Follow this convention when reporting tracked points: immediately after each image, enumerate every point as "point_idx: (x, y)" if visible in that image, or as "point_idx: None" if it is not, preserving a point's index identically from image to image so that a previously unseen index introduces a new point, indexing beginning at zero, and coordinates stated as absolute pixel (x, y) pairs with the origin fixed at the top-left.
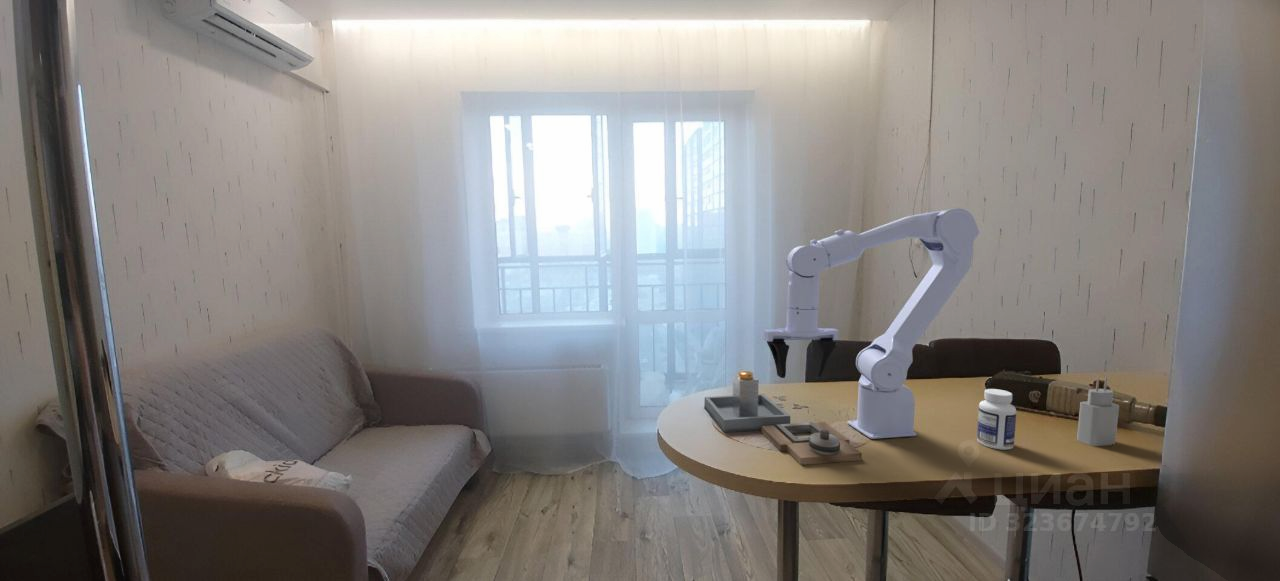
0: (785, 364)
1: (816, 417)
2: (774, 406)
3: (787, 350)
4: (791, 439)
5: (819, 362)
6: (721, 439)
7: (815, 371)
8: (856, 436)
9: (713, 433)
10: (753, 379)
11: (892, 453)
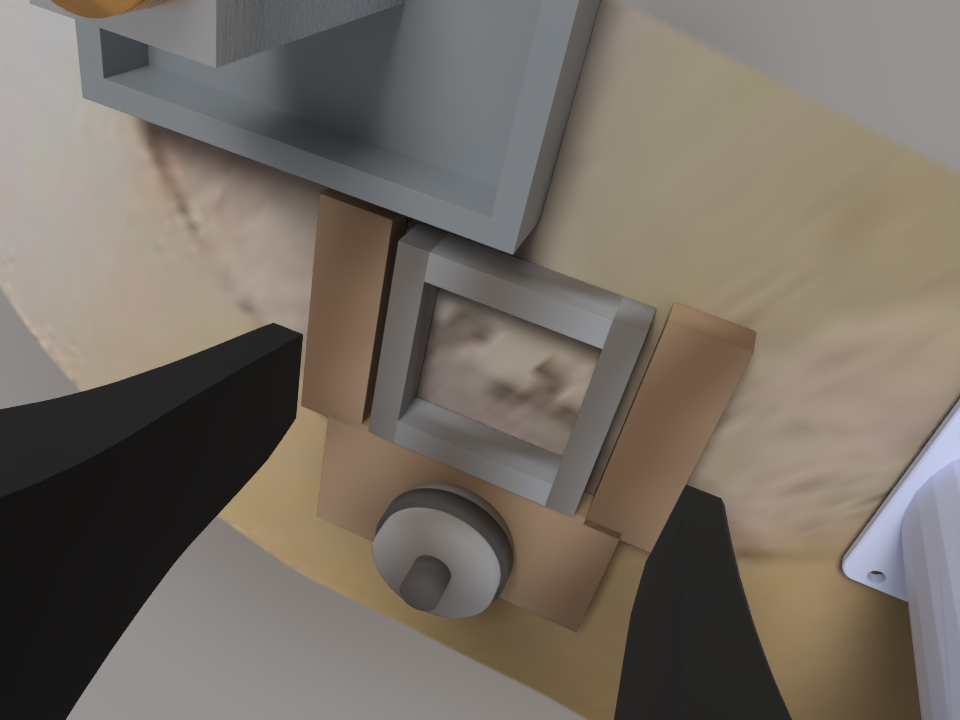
0: (193, 532)
1: (900, 164)
2: (538, 23)
3: (62, 705)
4: (374, 404)
5: (628, 693)
6: (111, 150)
7: (661, 545)
8: (814, 496)
9: None
10: (173, 23)
11: (773, 660)
